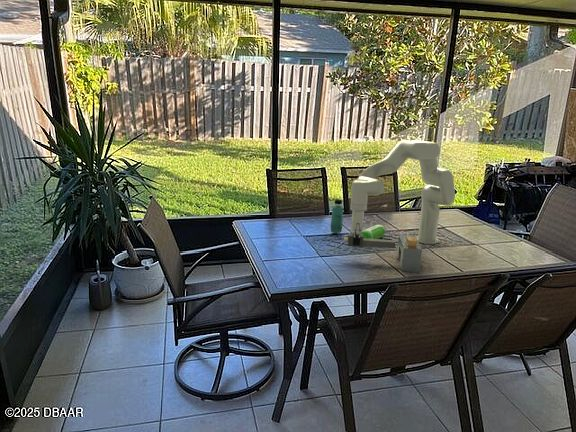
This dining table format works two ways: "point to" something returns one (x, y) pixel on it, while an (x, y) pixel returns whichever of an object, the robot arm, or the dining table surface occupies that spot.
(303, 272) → the dining table surface
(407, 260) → the grey boxy piece
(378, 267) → the dining table surface
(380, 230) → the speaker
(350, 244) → the plug
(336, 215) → the beverage bottle
